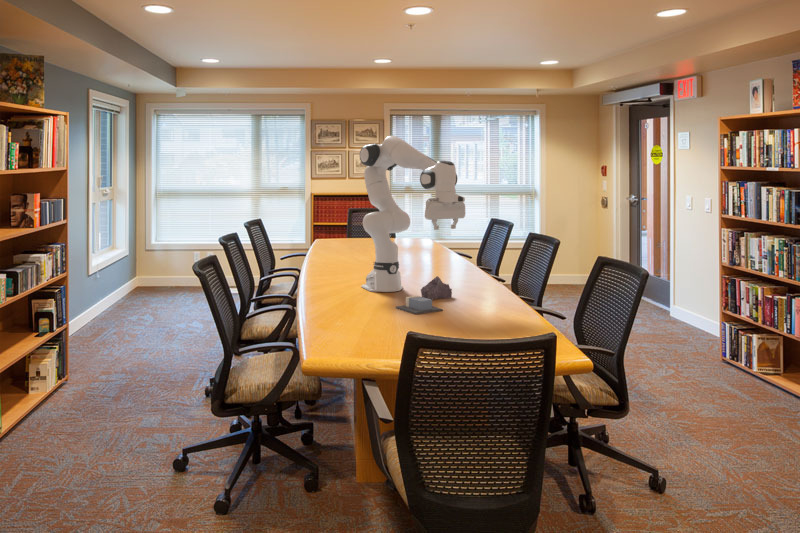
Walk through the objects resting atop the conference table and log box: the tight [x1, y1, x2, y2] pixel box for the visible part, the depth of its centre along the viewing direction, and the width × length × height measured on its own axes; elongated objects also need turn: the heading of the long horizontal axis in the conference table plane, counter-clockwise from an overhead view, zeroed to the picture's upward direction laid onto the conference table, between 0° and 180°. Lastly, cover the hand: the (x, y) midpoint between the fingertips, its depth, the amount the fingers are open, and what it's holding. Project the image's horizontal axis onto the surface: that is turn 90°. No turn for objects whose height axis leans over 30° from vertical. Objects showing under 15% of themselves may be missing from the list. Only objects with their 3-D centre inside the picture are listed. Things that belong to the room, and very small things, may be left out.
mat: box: [395, 304, 443, 315], centre depth 292 cm, size 15×14×1 cm
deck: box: [405, 295, 433, 311], centre depth 292 cm, size 11×6×4 cm, turn 34°
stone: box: [420, 276, 453, 301], centre depth 317 cm, size 10×6×15 cm
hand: (444, 229), depth 303 cm, fingers open, 8 cm apart
